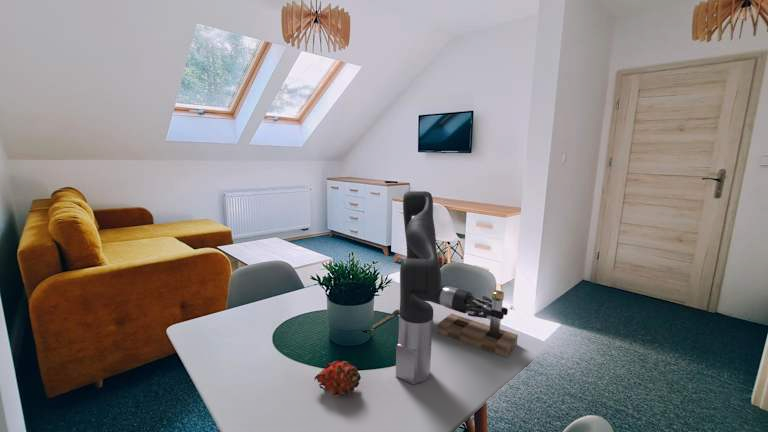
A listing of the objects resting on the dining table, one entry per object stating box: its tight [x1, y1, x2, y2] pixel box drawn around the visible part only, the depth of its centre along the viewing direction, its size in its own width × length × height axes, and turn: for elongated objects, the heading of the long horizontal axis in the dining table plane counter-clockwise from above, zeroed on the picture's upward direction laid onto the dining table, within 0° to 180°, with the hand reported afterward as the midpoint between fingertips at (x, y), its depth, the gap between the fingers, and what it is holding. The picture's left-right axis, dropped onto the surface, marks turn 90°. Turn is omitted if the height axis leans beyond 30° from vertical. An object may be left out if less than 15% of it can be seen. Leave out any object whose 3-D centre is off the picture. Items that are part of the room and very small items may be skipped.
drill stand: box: [437, 313, 519, 359], centre depth 119 cm, size 10×24×4 cm, turn 53°
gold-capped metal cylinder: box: [489, 290, 505, 340], centre depth 114 cm, size 4×4×16 cm
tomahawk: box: [370, 309, 400, 336], centre depth 128 cm, size 21×7×1 cm, turn 141°
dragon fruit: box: [314, 360, 362, 397], centre depth 90 cm, size 8×8×12 cm
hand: (505, 314), depth 112 cm, fingers closed on gold-capped metal cylinder, 3 cm apart
